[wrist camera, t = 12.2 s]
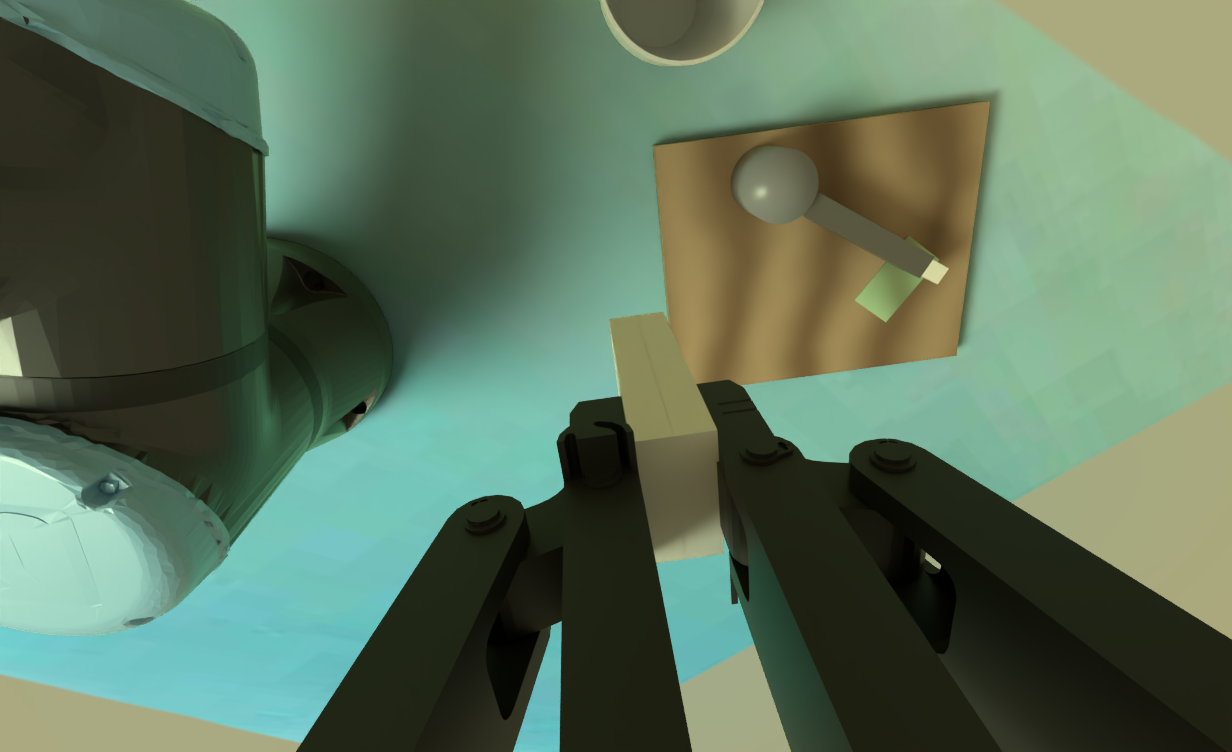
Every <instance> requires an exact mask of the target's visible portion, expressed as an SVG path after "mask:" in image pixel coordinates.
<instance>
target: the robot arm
mask: <svg viewBox="0 0 1232 752" xmlns="http://www.w3.org/2000/svg"><path fill="white" fill-rule="evenodd" d="M265 156H269V147H268V145H267V143H266V141H265V140H264V139H263V138H262V127H261V115H260V103H259V91H258V79H257V71H256V66H255V63H254V60H253V57H252V55H251V53H250V51H249V49H248V48H247V46H246V45H245V43H244V42H243V41H242V39H241V38H240V37H239V36H238V35H237V34H236V33H235V32H234V31H233V30H232V29H231V28H230V27H229V26H228V25H227V24H225V23H224V22H223V21H221V20H220V19H218V18H217V17H215V16H213V15H212V14H210V13H208V12H206V11H205V10H203V9H201V8H199V7H197V6H195V5H193V4H190V3H188V2H186V1H184V0H0V626H4V627H7V628H12V629H16V630H21V631H27V632H33V633H40V634H49V635H64V636H90V635H102V634H109V633H114V632H120V631H124V630H128V629H131V628H135V627H138V626H141V625H144V624H146V623H148V622H150V621H152V620H153V619H155V618H156V617H158V616H162V615H163V614H164V613H166V612H168V611H170V610H172V609H173V608H174V607H176V606H177V605H178V604H179V603H180V602H182V601H183V600H184V599H185V598H186V597H187V596H188V595H189V594H190V593H191V592H192V591H193V590H194V589H195V588H196V587H197V586H198V585H199V584H200V583H201V582H202V581H203V580H204V579H205V578H206V577H207V576H208V575H209V574H210V573H211V572H212V571H214V570H215V569H217V568H218V567H219V566H220V565H221V564H222V562H223V561H224V559H225V558H226V557H227V556H228V554H227V553H228V552H229V551H230V547H231V546H232V544H233V543H234V542H235V541H236V539H237V538H238V537H239V536H240V534H241V533H242V532H243V530H244V529H245V528H246V527H247V525H248V524H249V523H250V522H251V520H252V519H253V518H254V517H255V515H256V514H257V513H258V511H259V510H260V509H261V508H262V506H263V505H264V504H265V503H266V501H267V500H268V499H269V498H270V496H271V495H272V494H273V493H274V491H275V490H276V489H277V487H278V486H279V485H280V484H281V482H282V481H283V480H284V479H285V477H286V476H287V475H288V474H289V472H290V471H291V470H292V469H293V467H294V466H295V465H296V463H297V462H298V461H299V460H300V458H301V457H302V456H303V454H304V453H305V452H306V451H309V450H311V449H313V448H315V447H317V446H320V445H322V444H324V443H326V442H328V441H331V440H333V439H335V438H337V437H339V436H341V435H343V434H345V433H346V432H348V431H349V430H351V429H352V428H354V427H355V426H356V425H357V424H358V423H360V422H361V421H362V420H363V419H364V418H365V417H366V416H367V415H368V413H369V412H370V411H371V410H372V408H373V407H374V405H375V404H376V402H377V401H378V400H379V398H380V397H381V395H382V393H383V392H384V390H385V388H386V386H387V383H388V380H389V378H390V374H391V369H392V361H393V349H392V341H391V335H390V331H389V328H388V325H387V322H386V320H385V317H384V315H383V313H382V311H381V309H380V307H379V305H378V304H377V302H376V301H375V299H374V298H373V296H372V295H371V293H370V292H369V291H368V290H367V288H366V287H365V286H364V285H363V284H362V283H361V282H360V281H359V280H358V279H357V278H356V277H355V276H354V275H353V274H352V273H351V272H350V271H348V270H347V269H346V268H345V267H343V266H342V265H340V264H339V263H338V262H336V261H335V260H333V259H331V258H330V257H328V256H326V255H324V254H322V253H320V252H318V251H316V250H314V249H311V248H309V247H306V246H303V245H300V244H297V243H293V242H289V241H284V240H278V239H267V236H266V193H265ZM609 325H610V332H611V340H612V348H613V355H614V363H615V370H616V378H617V385H618V393H619V396H618V397H611V398H604V399H596V400H589V401H582V402H578V404H577V405H576V406H575V408H574V409H573V410H572V411H571V413H570V426H569V427H568V428H566V429H565V430H564V431H563V432H562V433H561V434H560V435H559V437H558V440H557V447H558V453H559V458H560V463H561V468H562V474H563V479H564V488H563V489H562V490H561V491H560V492H559V493H558V494H556V495H555V496H553V497H552V498H550V499H549V500H547V501H544V502H542V503H540V504H537V505H535V506H532V507H529V508H526V509H524V508H523V506H522V504H521V502H520V501H518V500H516V499H514V498H513V497H510V496H503V495H493V496H484V497H481V498H478V499H475V500H473V501H470V502H468V503H466V504H465V505H463V506H461V507H460V508H458V509H457V510H456V511H455V512H454V513H453V514H452V515H451V516H450V517H449V518H448V519H447V521H446V522H445V524H444V525H443V527H442V529H441V530H440V532H439V533H438V535H437V536H436V538H435V539H434V541H433V542H432V544H431V545H430V547H429V548H428V550H427V552H426V553H425V555H424V556H423V558H422V559H421V561H420V562H419V564H418V565H417V567H416V568H415V570H414V571H413V573H412V575H411V576H410V578H409V579H408V581H407V582H406V584H405V585H404V587H403V588H402V590H401V591H400V593H399V594H398V596H397V598H396V599H395V601H394V602H393V604H392V605H391V607H390V608H389V610H388V611H387V613H386V614H385V616H384V617H383V619H382V621H381V622H380V624H379V625H378V627H377V628H376V630H375V631H374V633H373V634H372V636H371V637H370V639H369V640H368V642H367V644H366V645H365V647H364V648H363V650H362V651H361V653H360V654H359V656H358V657H357V659H356V660H355V662H354V664H353V665H352V667H351V668H350V670H349V671H348V673H347V674H346V676H345V677H344V679H343V680H342V682H341V683H340V685H339V687H338V688H337V690H336V691H335V693H334V694H333V696H332V697H331V699H330V700H329V702H328V703H327V705H326V706H325V708H324V710H323V711H322V713H321V714H320V716H319V717H318V719H317V720H316V722H315V723H314V725H313V726H312V728H311V729H310V731H309V733H308V734H307V736H306V737H305V739H304V740H303V742H302V743H301V745H300V746H299V748H298V749H297V751H296V752H513V750H514V747H515V744H516V740H517V737H518V734H519V731H520V728H521V725H522V722H523V719H524V716H525V713H526V709H527V706H528V703H529V700H530V697H531V694H532V691H533V688H534V685H535V681H536V678H537V675H538V672H539V669H540V666H541V663H542V660H543V657H544V653H545V650H546V647H547V644H548V641H549V638H550V630H551V625H553V624H556V623H558V622H560V621H562V643H561V704H560V752H692V748H691V743H690V738H689V733H688V727H687V722H686V717H685V712H684V706H683V701H682V696H681V691H680V686H679V680H678V675H677V670H676V665H675V660H674V654H673V649H672V644H671V639H670V633H669V628H668V623H667V618H666V613H665V607H664V602H663V597H662V592H661V586H660V581H659V576H658V571H657V566H656V563H661V562H668V561H675V560H682V559H689V558H696V557H703V556H710V555H717V554H724V544H723V535H724V537H725V540H726V543H727V546H728V549H729V560H730V580H731V599H732V604H737V603H738V597H739V600H740V603H741V606H742V609H743V612H744V615H745V618H746V620H747V623H748V626H749V629H750V632H751V635H752V638H753V641H754V644H755V647H756V650H757V653H758V656H759V659H760V661H761V664H762V667H763V670H764V673H765V676H766V679H767V682H768V685H769V687H770V691H771V694H772V697H773V699H774V702H775V705H776V708H777V711H778V714H779V717H780V720H781V723H782V726H783V729H784V732H785V735H786V738H787V740H788V743H789V746H790V749H791V752H1232V640H1231V639H1230V638H1228V637H1227V636H1225V635H1223V634H1222V633H1220V632H1218V631H1217V630H1215V629H1214V628H1212V627H1210V626H1209V625H1207V624H1205V623H1204V622H1202V621H1201V620H1199V619H1198V618H1196V617H1194V616H1192V615H1191V614H1189V613H1188V612H1186V611H1185V610H1183V609H1181V608H1180V607H1178V606H1177V605H1175V604H1173V603H1172V602H1170V601H1168V600H1167V599H1165V598H1164V597H1162V596H1161V595H1159V594H1157V593H1156V592H1154V591H1152V590H1151V589H1149V588H1147V587H1146V586H1144V585H1143V584H1141V583H1139V582H1138V581H1136V580H1135V579H1133V578H1131V577H1130V576H1128V575H1126V574H1125V573H1123V572H1121V571H1120V570H1119V569H1117V568H1115V567H1114V566H1112V565H1111V564H1109V563H1107V562H1106V561H1104V560H1102V559H1101V558H1099V557H1098V556H1096V555H1094V554H1092V553H1091V552H1090V551H1088V550H1086V549H1085V548H1083V547H1082V546H1080V545H1078V544H1077V543H1075V542H1073V541H1072V540H1070V539H1069V538H1067V537H1065V536H1064V535H1062V534H1061V533H1059V532H1057V531H1056V530H1054V529H1052V528H1051V527H1049V526H1048V525H1046V524H1044V523H1043V522H1041V521H1040V520H1038V519H1036V518H1035V517H1033V516H1031V515H1030V514H1028V513H1027V512H1025V511H1023V510H1022V509H1020V508H1019V507H1017V506H1015V505H1014V504H1012V503H1011V502H1009V501H1007V500H1006V499H1004V498H1003V497H1001V496H999V495H998V494H996V493H994V492H993V491H991V490H990V489H988V488H986V487H985V486H983V485H982V484H980V483H978V482H977V481H975V480H974V479H972V478H970V477H969V476H967V475H965V474H964V473H962V472H961V471H959V470H957V469H956V468H954V467H953V466H951V465H949V464H948V463H946V462H945V461H943V460H941V459H940V458H938V457H936V456H935V455H933V454H932V453H930V452H928V451H927V450H925V449H923V448H921V447H919V446H916V445H914V444H912V443H909V442H904V441H900V440H897V439H875V440H869V441H864V442H862V443H860V444H858V445H856V446H854V448H853V449H852V450H851V452H850V453H849V463H836V462H821V461H812V460H808V459H805V458H804V456H803V455H802V453H801V452H800V450H799V449H798V448H797V447H796V446H795V445H794V444H793V443H792V442H790V441H788V440H785V439H783V438H780V437H776V436H774V435H773V433H772V432H771V430H770V428H769V427H768V425H767V424H766V422H765V420H764V419H763V417H762V416H761V414H760V412H759V411H758V410H757V408H756V406H755V405H754V403H753V401H751V398H750V397H749V395H748V393H747V392H746V390H745V389H744V388H743V387H742V386H740V385H738V384H736V383H734V382H733V381H731V380H722V381H714V382H707V383H700V384H696V383H695V381H694V378H693V376H692V374H691V372H690V370H689V368H688V365H687V363H686V361H685V359H684V357H683V355H682V352H681V350H680V348H679V346H678V344H677V342H676V339H675V337H674V335H673V333H672V331H671V329H670V326H669V324H668V322H667V320H666V318H665V316H664V313H663V312H659V313H651V314H644V315H637V316H630V317H622V318H615V319H609ZM926 553H928V554H929V555H930V556H931V557H932V558H934V559H935V560H936V561H937V562H938V563H940V564H941V569H938V568H936V567H935V566H933V565H932V564H931V563H930V562H928V561H927V560H926V559H925V555H926Z"/></svg>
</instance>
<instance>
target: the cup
mask: <svg viewBox="0 0 1232 752" xmlns="http://www.w3.org/2000/svg"><path fill="white" fill-rule="evenodd" d="M599 1H600V6H601V9H602V13H603V15H604V18H605V20H606V23H607V25H608V27H609V29H610V30H611V32H612V34H613V35H614V37H615V38H616V39H617V40H618V42H619V43H620V44H621V45H622V46H623V47H624V48H625V49H626V50H627V51H628V52H630V53H631V54H632V55H634V56H635V57H637V58H639V59H641V60H643V61H645V62H648V63H650V64H654V65H659V66H684V65H693V64H698V63H702V62H705V61H708V60H710V59H713V58H715V57H717V56H719V55H720V54H722V53H724V52H725V51H727V50H728V49H729V48H731V47H732V46H733V45H734V44H735V43H736V42H738V41H739V40H740V39H741V37H742V36H743V35H744V34H745V33H746V32H747V30H748V29H749V28H750V26H751V25H752V24H753V22H754V21H755V19H756V17H757V15H758V14H759V12H760V10H761V8H762V5H763V3H764V0H599Z"/></svg>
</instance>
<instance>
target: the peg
mask: <svg viewBox="0 0 1232 752" xmlns="http://www.w3.org/2000/svg"><path fill="white" fill-rule="evenodd" d="M818 183H819V179H818V173H817V169H816V167H815V165H814V163H813V161H812V160H811V159H810V158H809V157H808V156H807V155H806V154H805V153H803V152H801V151H799V150H796V149H791V148H785V147H778V146H771V145H762V146H758V147H755V148H752V149H750V150H749V151H747V152H746V153H745V154H744V155H743V156H742V157H741V158H740V159H739V160H738V161H737V163H736V165H735V167H734V169H733V172H732V175H731V192H732V195H733V197H734V200H735V201H736V203H737V204H738V205H739V206H740V207H741V208H742V209H744V210H745V211H747V212H749V213H750V214H752V215H754V216H756V217H758V218H759V219H761V220H763V221H765V222H767V223H771V224H785V223H789V222H792V221H794V220H796V219H798V218H799V217H801V216H803V217H805V218H807V219H808V220H810V221H812V222H814V223H816V224H818V225H819V226H821V227H823V228H825V229H827V230H829V231H831V232H832V233H834V234H836V235H838V236H840V237H842V238H843V239H845V240H847V241H849V242H851V243H853V244H855V245H856V246H858V247H860V248H862V249H864V250H866V251H867V252H869V253H871V254H873V255H875V256H877V257H879V258H880V259H882V260H884V261H886V262H888V263H890V264H891V265H893V266H895V267H897V268H899V269H901V270H903V271H905V272H907V273H909V274H912V275H914V276H916V277H918V278H920V277H923V278H925V279H927V280H929V281H931V282H933V283H936V284H938V283H939V282H940V281H941V279H942V278H943V276H944V275H945V274H946V272H947V271H948V269H949V268H947V267H945V266H943V265H942V264H940V263H938V262H936V261H934V260H933V259H934V256H932V255H930V254H929V253H927V252H925V251H923V250H921V249H920V248H918V247H916V246H914V245H913V244H911V243H909V242H907V241H905V240H904V239H902V238H900V237H898V236H896V235H895V234H893V233H891V232H889V231H887V230H886V229H884V228H882V227H880V226H878V225H877V224H875V223H873V222H871V221H869V220H868V219H866V218H864V217H862V216H861V215H859V214H857V213H855V212H853V211H852V210H850V209H848V208H846V207H844V206H843V205H841V204H839V203H837V202H835V201H834V200H832V199H830V198H828V197H826V196H825V195H823V194H821V193H819V192H818Z"/></svg>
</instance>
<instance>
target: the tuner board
mask: <svg viewBox="0 0 1232 752" xmlns="http://www.w3.org/2000/svg"><path fill="white" fill-rule="evenodd" d="M989 107H990V102H974V103H967V104H959V105H952V106H944V107H937V108H929V109H922V110H914V111H907V112H899V113H892V114H884V115H877V116H869V117H862V118H855V119H847V120H840V121H832V122H825V123H817V124H810V125H802V126H795V127H787V128H780V129H772V130H765V131H758V132H750V133H743V134H735V135H728V136H720V137H713V138H705V139H698V140H690V141H683V142H675V143H668V144H660V145H653V155H654V166H655V177H656V189H657V200H658V211H659V223H660V234H661V245H662V257H663V268H664V279H665V291H666V302H667V313H668V324H669V326H670V329H671V331H672V333H673V335H674V337H675V339H676V342H677V344H678V346H679V348H680V350H681V352H682V355H683V357H684V359H685V361H686V363H687V365H688V368H689V370H690V372H691V374H692V376H693V378H694V381H695V383H696V384H700V383H707V382H714V381H722V380H731V381H733V382H734V383H736V384H738V385H746V384H754V383H761V382H768V381H775V380H783V379H790V378H797V377H804V376H812V375H819V374H826V373H834V372H841V371H848V370H855V369H863V368H870V367H877V366H885V365H892V364H899V363H906V362H914V361H921V360H928V359H935V358H943V357H950V356H956V355H957V347H958V340H959V332H960V325H961V317H962V310H963V302H964V295H965V287H966V280H967V272H968V265H969V257H970V250H971V242H972V235H973V227H974V220H975V212H976V205H977V197H978V190H979V182H980V175H981V167H982V160H983V152H984V145H985V137H986V130H987V122H988V115H989ZM762 145H771V146H778V147H785V148H791V149H796V150H799V151H801V152H803V153H805V154H806V155H807V156H808V157H809V158H810V159H811V160H812V161H813V163H814V165H815V167H816V169H817V173H818V179H819V183H818V192H819V193H821V194H823V195H825V196H826V197H828V198H830V199H832V200H834V201H835V202H837V203H839V204H841V205H843V206H844V207H846V208H848V209H850V210H852V211H853V212H855V213H857V214H859V215H861V216H862V217H864V218H866V219H868V220H869V221H871V222H873V223H875V224H877V225H878V226H880V227H882V228H884V229H886V230H887V231H889V232H891V233H893V234H895V235H896V236H898V237H900V238H902V239H904V240H905V241H907V242H909V243H911V244H913V245H914V246H916V247H918V248H920V249H921V250H923V251H925V252H927V253H929V254H930V255H932V256H934V259H933V260H934V261H936V262H938V263H940V264H942V265H943V266H945V267H947V268H949V269H948V271H947V272H946V274H945V275H944V276H943V278H942V279H941V281H940V282H939V283H938V284H936V283H933V282H931V281H929V280H927V279H925V278H923V277H920V278H918V277H916V276H914V275H912V274H909V273H907V272H905V271H903V270H901V269H899V268H897V267H895V266H893V265H891V264H890V263H888V262H886V261H884V260H882V259H880V258H879V257H877V256H875V255H873V254H871V253H869V252H867V251H866V250H864V249H862V248H860V247H858V246H856V245H855V244H853V243H851V242H849V241H847V240H845V239H843V238H842V237H840V236H838V235H836V234H834V233H832V232H831V231H829V230H827V229H825V228H823V227H821V226H819V225H818V224H816V223H814V222H812V221H810V220H808V219H807V218H805V217H803V216H801V217H799V218H798V219H796V220H794V221H792V222H789V223H785V224H771V223H767V222H765V221H763V220H761V219H759V218H758V217H756V216H754V215H752V214H750V213H749V212H747V211H745V210H744V209H742V208H741V207H740V206H739V205H738V204H737V203H736V201H735V200H734V197H733V195H732V192H731V175H732V172H733V169H734V167H735V165H736V163H737V161H738V160H739V159H740V158H741V157H742V156H743V155H744V154H745V153H746V152H747V151H749V150H750V149H752V148H755V147H758V146H762Z"/></svg>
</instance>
